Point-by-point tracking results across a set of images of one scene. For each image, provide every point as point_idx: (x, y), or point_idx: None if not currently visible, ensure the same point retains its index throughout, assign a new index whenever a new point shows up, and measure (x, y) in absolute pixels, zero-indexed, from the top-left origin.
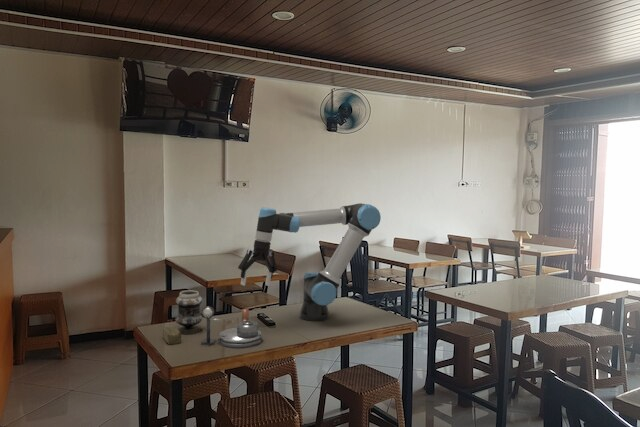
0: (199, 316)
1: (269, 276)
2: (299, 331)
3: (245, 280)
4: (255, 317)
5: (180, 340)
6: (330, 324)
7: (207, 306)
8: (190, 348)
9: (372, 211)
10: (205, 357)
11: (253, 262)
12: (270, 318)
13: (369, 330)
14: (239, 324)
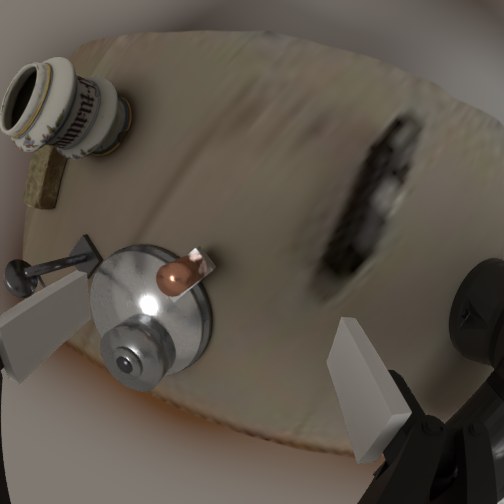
0: (84, 143)
1: (349, 422)
2: None
3: (63, 338)
4: (363, 143)
5: (49, 209)
6: (442, 391)
7: (6, 279)
8: (55, 256)
9: None
10: None
11: (5, 489)
12: (396, 201)
13: None
14: (107, 344)
